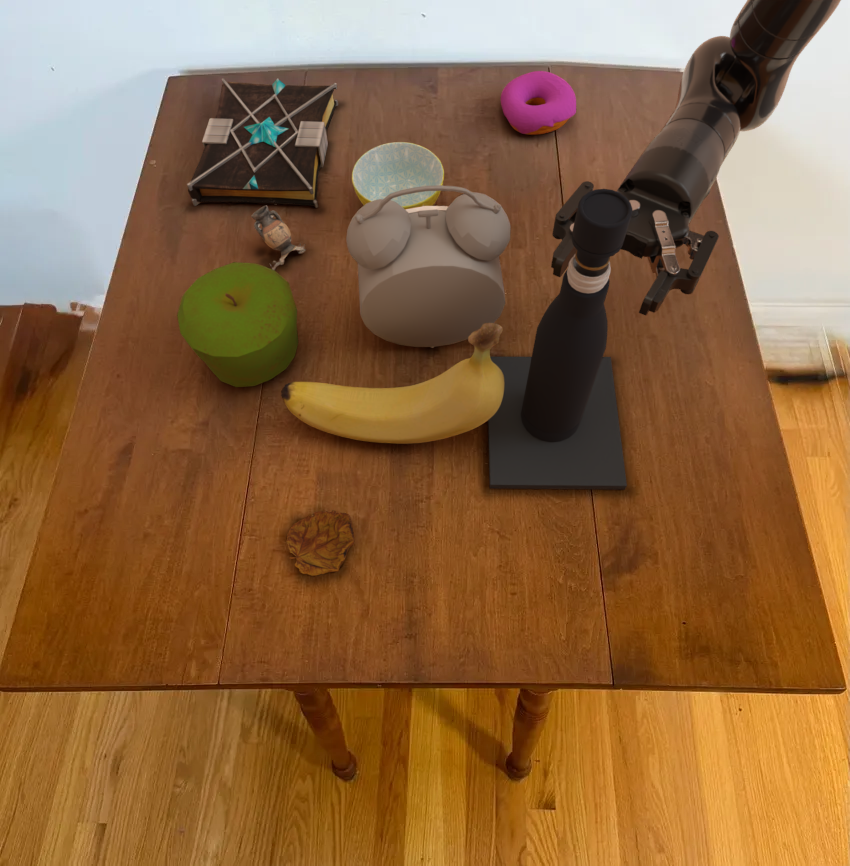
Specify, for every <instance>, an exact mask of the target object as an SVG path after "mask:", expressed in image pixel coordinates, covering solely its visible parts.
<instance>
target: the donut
mask: <svg viewBox="0 0 850 866" xmlns="http://www.w3.org/2000/svg"><path fill="white" fill-rule="evenodd" d="M500 106H501V110H502V112H503V113H502V114H503V116H504V117H505V118H506V119H507V121H508V124H509V125H510V126H511V127H512V129H514V130H515V131H516V132H518V133H520V134H523V135H531V136H533V135H544V134H548V133H551V132H553V131H556V130H558V129H560V128H562V127H563V126H564V125H565V124H566V123H567V122H568V121H569V120H570V119H571V118H572V117H573V116H574V115H576V113H577V97H576V93H575V91H574V89H573V88H572V86H571V85H570V83H568V82H567V80H565V79H564V78H562V77H561V76H559V75H558V74H556V73H553V72H549V71H545V70H535V71H530V72H527V73H523V74H521V75H519V76H516V77H515V78H513V79H512V80H510V81H509V82H508V83H507V84H506V85H505V86H504V88H503V89H502V91H501V94H500Z"/></svg>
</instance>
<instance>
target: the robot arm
mask: <svg viewBox="0 0 850 866" xmlns="http://www.w3.org/2000/svg"><path fill="white" fill-rule="evenodd" d="M841 1H842V0H746V1H745V3H744V5H742V7H741V9H740V11H739V13H738V14H737V15H736V17H735V19H734V21H733V24H732V25H731V29H730V33H729V36H726V35H718V36H713V37H710V38H708V39H707V40H705V41H704V42H702V43H701V44H700V45H699V46H697V48H696V49H695V50H694V51H693V53H692V54H691V56H690V57H689V59H688V61H687V62H686V65H685V67H684V69H683V73H682V76H681V79H680V82H679V87H678V93H677V98H676V104H675V108H674V110H673V111H672V113H671V115H670V116H669V117H668V119H667V121H666V122H665V124H664V125H663V126H662V128H661V130H659V132H658V133H657V134H656V135H655V136H654V137H653V138H652V139H651V141H650V142H649V143H648V145H647V146H646V147H645V148H644V150H643V151H642V152H641V154H640V156H639V157H638V158H637V160H636V162H635V163H634V165H633V166H632V167H631V169H630V170H629V172H628V173H627V175H626V176H625V178H624V179H623V181H622V182H621V184H620V185H619V187H618V188H617V190H615V191H616V192H619V193H621V194H622V195H624V196H625V197H626V198H627V199H628V200H629V201H630V203H631V206H632V216H631V220H630V223H629V226H628V229H627V233H626V236H625V239H624V242H623V245H622V247H621V249H620V251H624V252H625V251H627V252H628V253H629V254H631V255H632V256H634V257H636V258H639V259H641V260H642V259H643V257H644V258H647V260H648V263H649V266H650V269H651V273H652V274H655V279H654V281H653V283H652V284H651V286H650V288H649V290H648V291H647V293H646V294H645V296H644V298H643V300H642V303H641V305H640V307H639V310H638V313H639V314H641V315H643V316H645V317H646V316H648V313H649V312H651V313H653V314H654V313H656V312H658V311H659V310H660V308H661V306H662V305H663V303H664V301H665V300H666V298H667V296H668V294H669V293H670V291H672V290H680V292H681V293H682V294H684V295H692V294H693V293H694V291H695V289H696V287H697V285H698V283H699V281H700V278H701V277H702V274H703V273H704V270H705V268H706V266H707V264H708V262H709V259H710V257H711V255H712V253H713V250H714V248H715V246H716V245H717V242H718V240H719V237H720V235H719V234H718V233H717V231H715V230H708V231H706V232H705V234H704V235H703V234H700V233H698V232H695V231H692V230H690V226H689V225H690V223H691V222H692V220H693V218H694V217H695V215H696V213H697V212H698V210H699V208H700V207H701V206H702V204H703V202H704V200H705V199H706V198H707V197H708V195H710V192H711V188H712V187H713V185H714V184H715V181H716V180H717V178H718V175H719V173H720V169H721V167H722V165H723V163H724V162H725V160H726V158H727V157H728V155H729V153H731V151H732V149H733V147H734V146H735V143H736V142H737V140H738V138H739V135H740V132H749V131H752V130H755V129H757V128H759V127H761V126H762V125H763V124H764V123H765V122H767V120H769V118H770V117H771V116H772V115H773V113H774V111H775V110H776V109H777V107H778V105H779V103H780V102H781V99H782V96H783V95H784V92H785V89H786V86H787V83H788V80H789V78H790V75H791V71H792V69H793V67H794V65H795V62H796V61H797V59H798V57H799V56H800V54H802V52H803V51H804V50H805V48H806V47H807V46H808V45H809V43H811V41H812V40H813V39H814V38H815V36H816V35H817V34H818V32H819V31H820V30H821V29H822V28H823V26H824V25H826V23H827V22H828V20H829V19H830V18H831V16H832V15H833V14H834V13H835V11H836V9H837V8H838V6H839V5H840V3H841ZM594 186H595V185H594V183H593V182H591V181H589V180H588V181H587V180H586V181H583V182H581V184H580V185H578V187H577V188H576V190H575V191H574V192H573V193H572V194H571V195H570V197H569V198H568V199H567V200H566V202H564V204H563V205H562V206H561V208H559V210H558V211H557V212H556V214H555V218H554V223H553V229H552V237H553V238H554V239H555V240H561V241H560V243H559V244H558V245H557V247H556V248H555V250H554V251H553V254H552V259H551V264H550V268H552V269H553V271H552V275H553V276H555V277H558V278H562V277H563V275H564V273H565V272H566V270H567V269H568V266H569V262H570V260H571V259H572V257H573V256H574V255H575V254H576V251H577V249H576V248H575V247H574V245H573V243H572V239H571V237H572V231H573V227H574V222H575V218H576V213H577V208H578V204H579V201H580V200H581V198H582V196H584V195H585V194H586V193H588V192H590V191H593V190H594V188H595V187H594ZM683 245H685V246H686V247H687V254H688V256H689V259H690V260H692V261H691V263H690V265H689V267H688V268H681V267H680V264H679V263H680V262H679V261H678V258H677V255H676V249H678V248H680V247H682V246H683Z"/></svg>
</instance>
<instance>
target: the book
mask: <svg viewBox="0 0 850 866" xmlns="http://www.w3.org/2000/svg"><path fill="white" fill-rule="evenodd" d="M220 80H221V83H222V84H221V88H220V95H219V100H218V107H217V112H216V115H215V118H213V117H211V118H209V120H208V123H207V126H206V129H205V131H204V135H203V137H202V141H201V143H202V147H203V152H202V154H201V157H200V159H199V162H198V163H197V166H196V168H195V170H194V173H193V175H192V178H191V180H190V181H189V182H188V183H186V186H187V192H188V195H189V197H190V198H191V203H192V205H193V206H194V207H197V206H198V205H199V204H201V203H251V204H253V203H254V204H278V205H279V204H283V205H299V206H311V207H314V208H315V209H317V208H319V203H318V200H317V195H318V186H319V174H320V170H321V168H324V164H325V160H326V155H327V151H328V146H329V141H328V136H327V135H328V134H327V130H328V128H329V125H330V124H331V120H332V117H333V115H334V112H335V110H336V107H338V106H339V101H338V99H334V94H333V93H334V90H337V89H338V84H337V83H336V82H334V83H332V84H331V85H296V84H295V85H292V84H285V83H284V82H283V81H281V79H279V78H276V80H275V81H274V82H273V83H272V84H266V83H264V84H263V83H262V84H261V83H250V82H238V81H227V80H226V79H225V78H224V77H223V78H221V79H220Z"/></svg>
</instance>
